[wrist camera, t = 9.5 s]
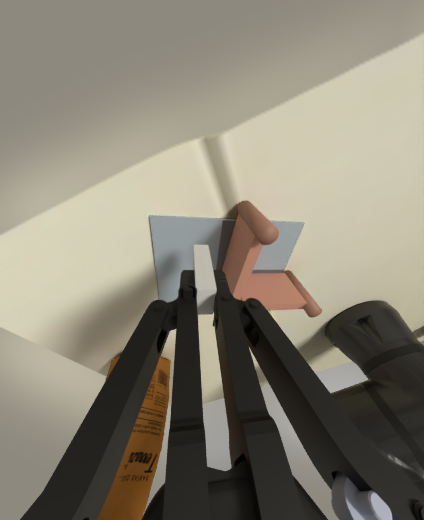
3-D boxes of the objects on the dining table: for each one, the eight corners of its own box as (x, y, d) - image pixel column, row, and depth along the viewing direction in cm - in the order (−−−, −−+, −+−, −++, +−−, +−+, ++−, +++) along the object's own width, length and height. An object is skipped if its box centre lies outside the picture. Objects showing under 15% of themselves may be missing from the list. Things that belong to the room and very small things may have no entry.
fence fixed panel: (289, 278, 29) (319, 318, 23) (218, 279, 27) (228, 323, 21) (293, 270, 28) (325, 309, 22) (219, 270, 26) (231, 313, 20)
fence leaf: (219, 269, 25) (230, 308, 19) (239, 199, 19) (262, 224, 14) (231, 270, 26) (244, 309, 20) (253, 201, 20) (282, 227, 14)
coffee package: (144, 374, 43) (115, 540, 25) (105, 356, 36) (26, 570, 18) (177, 361, 41) (172, 529, 23) (143, 340, 34) (98, 557, 16)
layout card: (270, 298, 32) (271, 299, 31) (160, 301, 28) (159, 303, 28) (303, 222, 23) (304, 223, 23) (149, 215, 20) (149, 216, 19)
